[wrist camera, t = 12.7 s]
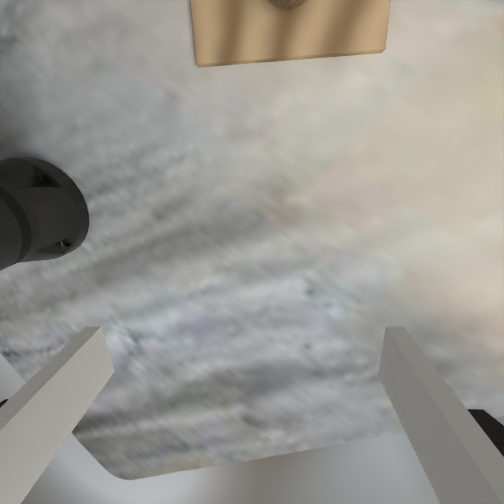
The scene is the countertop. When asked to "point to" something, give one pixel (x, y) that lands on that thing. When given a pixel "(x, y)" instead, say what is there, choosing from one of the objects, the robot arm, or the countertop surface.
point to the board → (286, 30)
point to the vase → (287, 3)
